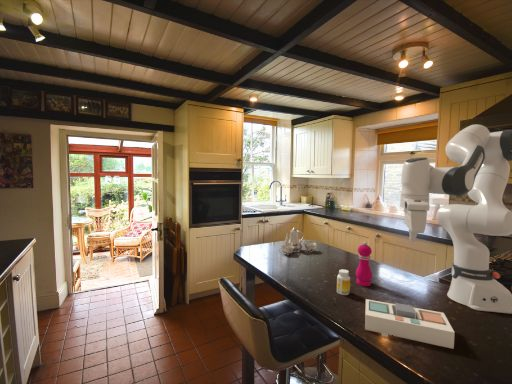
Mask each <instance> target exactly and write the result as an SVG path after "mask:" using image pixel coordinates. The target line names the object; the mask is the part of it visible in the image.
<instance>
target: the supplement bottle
mask: <svg viewBox="0 0 512 384" xmlns="http://www.w3.org/2000/svg"><path fill="white" fill-rule="evenodd" d="M350 291H351V276H350V271H349V270H348V269H339V271H338V274H337V277H336V293H337V294H339V295H342V296H349V294H350Z"/></svg>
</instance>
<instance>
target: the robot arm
mask: <svg viewBox="0 0 512 384" xmlns="http://www.w3.org/2000/svg"><path fill="white" fill-rule="evenodd" d="M444 149H445V154H446V156H447V158H448V159H449V160H450V161H451V162H453V163H455V164H459V165H458V166H446V167H444V166H441V167H434V166H432V165H431V164H430V159H429V158H427V157H415V158H413V157H412V158H409V159H406V160H405V161H404V163H403V166H402V171H401V179H400V181H401V182H400V183H401V186H402V187H401V191H400V201H399V203H400V207H401V208H403V212H404V220H403V221H404V224H405V225H406V227H407V228H408V234H409V238H408V239H409V240H410V242H412V243H413V242H415V243H416V242H417V237H418V234H424V232H425V230H426V224H427V217H428V212H429V211H430V208H431V207H430V194H435V195H449V196H456V197H463V196H465V195H467V196H468V198H470V199H471V200H472V201H473V202H475V203H476V204H477V205H476V204H475V205H471V204H461V203H459V204H458V203H450V204H442V206H440V207H439V208H438V210H437V212H436V219H437V222H438V224H439V225H440V226H441V227H442V228H444V230H446V232H447V233H448V235H449V236H450V238H451V241H452V244H453V245H452V246H453V262H452V263H451V277H452V278H451V282H450V285H449V289H448V291H447V294H446V296H447V297H448V298H449V300H452V301H455V302H456V303H459V304H460V305H461V304H462V305H464V306H467V307H468V308H470V309H473V310H474V311H475V310H476V311H479V312H480V311H483V312H492V313H493V312H494V313H503V314H510V315H511V314H512V293H511V291H510V290H509V289H507V287H506V286H504V285H503V284H502V283H500V282H499V281H497V279H500V278H501V275H500V274H499V273H498V272H497V271H494V270H493V269H491V268H490V255H491V254H490V250H489V247H487V246H486V245H485V244H483V243H482V241H481V242H480V241H479V240H478V239H477V238H476V236H475V235H474V234H478V235H479V234H480V235H484V236H485V235H487V236H494V237H495V236H496V237H503V236H504V237H507V236H508V237H509V236H510V235H512V210H510V209H508V208H507V207H506V205H505V204H504V202H503V196H504V193H505V189H506V187H507V184H508V182H509V178H510V172H511V165H510V162H512V129H504V130H501V131H500V130H499V131H493V132H491V131H490V130H489V129H488V127H486V126H485V125H482V124H475V123H474V124H471V125H469V126H466V127H465V128H463V129H461V130H460V131H459V132H457V133H456V134H455V135H454V136H453V137H451V138H450V139H449V141H448V142H447V143H446V145H445V148H444Z"/></svg>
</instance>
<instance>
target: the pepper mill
mask: <svg viewBox="0 0 512 384" xmlns="http://www.w3.org/2000/svg"><path fill="white" fill-rule="evenodd" d="M357 252H358V253H357V254H358V259H359V263H358V267H357V268H356V270H355V277H356V284H357V285H359V286H362V287H369V286H372V285H371V284H372V278H373V273H372V272H373V271H372V269H371V268H370V260H371V255H372V252H373V251H372V248H371V246H370V245H368V243H367V242H366V241H363V242H362V244H360V245H359V246H358V248H357Z"/></svg>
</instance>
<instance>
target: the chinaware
mask: <svg viewBox="0 0 512 384" xmlns="http://www.w3.org/2000/svg"><path fill="white" fill-rule="evenodd" d="M300 233H301V234H302V236H301V237H302V238H301V239H299V235H300ZM285 234H286V236H285V240H284V244H283V245H281V247H280V248H279V249H278V251H279V253H281V254H282V253H283V255H284V254H290V255H291V254H292V253H299V252H298V251H300V252H301V249H302V248H303V245H304V248H305V249H306V251H307V252H308V251H309V252H308V253H313V252H312V251H315V250H316V248H317V246H318V244H317V243H316V242H310V241H309V242H304V243H303V241H302V240H303V239H304V237H305V234H304V232H303V231H300V230H298V229H297V228H296V226H293V228H292V229H289V232H288V231H285ZM302 243H303V245H302ZM280 249H281V250H282V251H280Z"/></svg>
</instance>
